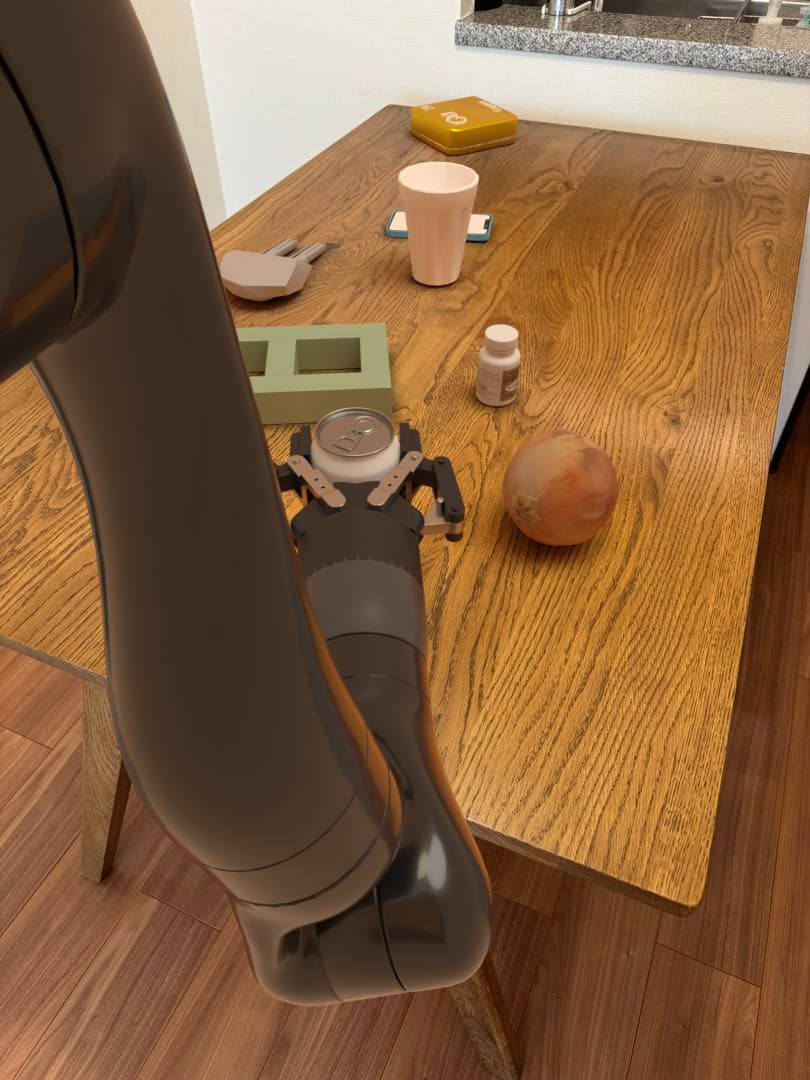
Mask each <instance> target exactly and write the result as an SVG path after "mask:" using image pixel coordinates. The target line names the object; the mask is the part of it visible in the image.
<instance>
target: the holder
mask: <svg viewBox="0 0 810 1080" xmlns="http://www.w3.org/2000/svg"><path fill="white" fill-rule="evenodd" d="M236 331H237V335H238V339H239V342H240V346H241V350H242V353H243V356H244V360H245V363H246V367H247V370H248V373H260V372H261V373H263V372H264V375H258V376H256V375H255V376H249V377H250V381H251V384H252V388H253V391H254V394H255V398H256V401H257V405H258V408H259V412H260V416H261V420H262V423H263V425H283V424H285V425H286V424H288V425H289V424H309V423H318V422H319V420H320V419H321V418H323V417H324V416H325V415H327V414H329V413H331V412H333V411H336V410H339V409H343V408H350V407H362V408H369V409H373V410H376V411H379V412H381V413H383V414H385V415H386V416H387V417H389V418H390V419H391V420H393V399H392V398H393V397H392V395H393V394H392V390H393V389H392V377H391V368H390V367H391V366H390V358H389V357H390V356H389V346H388V335H387V323H386V322H367V323H366V322H365V323H364V322H363V323H335V324H308V325H307V324H306V325H304V324H303V325H280V326H275V325H274V326H251V327H250V326H249V327H248V326H247V327H236ZM342 369H343V370H345V369H346V370H347V369H360V372H339V373H338V372H337V373H336V372H335V373H310V374H308V373H307V374H300V372H301V371H317V370H342Z"/></svg>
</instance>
